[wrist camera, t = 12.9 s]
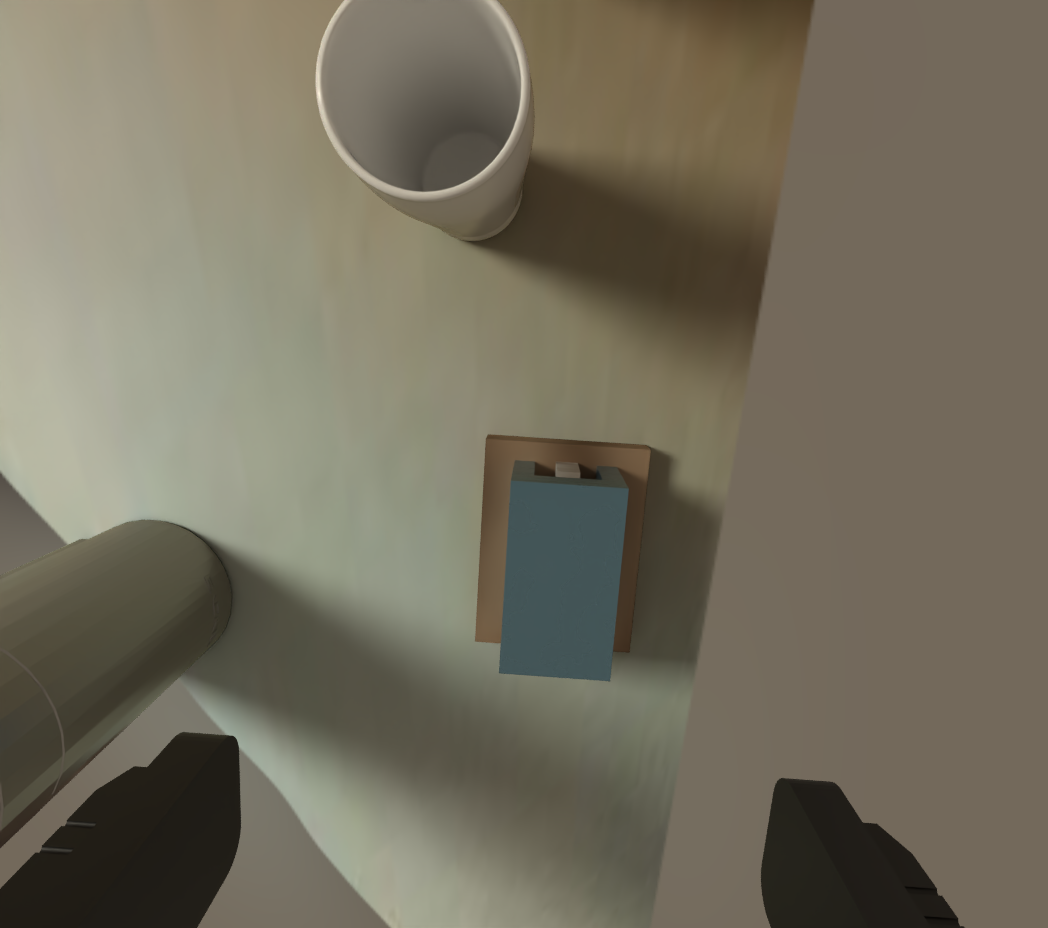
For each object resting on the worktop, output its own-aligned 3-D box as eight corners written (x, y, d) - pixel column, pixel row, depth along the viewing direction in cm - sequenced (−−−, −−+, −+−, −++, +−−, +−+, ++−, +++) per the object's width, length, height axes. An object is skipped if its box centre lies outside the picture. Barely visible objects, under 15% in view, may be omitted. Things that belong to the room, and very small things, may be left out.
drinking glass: (471, 90, 33) (417, -97, 19) (563, 190, 34) (579, 84, 20) (382, 190, 35) (265, 85, 20) (473, 283, 35) (425, 250, 21)
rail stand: (477, 629, 39) (470, 662, 36) (488, 434, 37) (481, 446, 33) (626, 640, 39) (635, 674, 35) (646, 445, 37) (658, 458, 33)
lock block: (514, 460, 36) (510, 480, 31) (616, 466, 36) (628, 488, 31) (504, 628, 38) (499, 673, 33) (601, 635, 38) (609, 680, 33)
